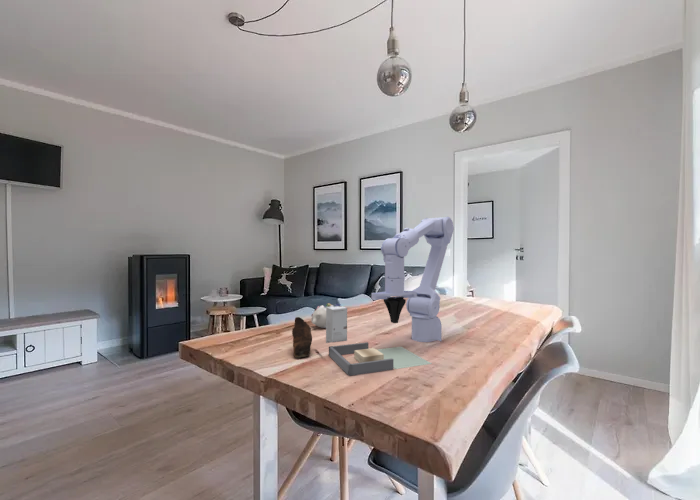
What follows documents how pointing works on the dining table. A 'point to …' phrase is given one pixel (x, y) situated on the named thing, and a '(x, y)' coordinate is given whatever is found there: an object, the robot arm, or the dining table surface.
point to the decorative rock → (301, 338)
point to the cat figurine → (320, 316)
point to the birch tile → (368, 355)
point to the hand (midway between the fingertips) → (394, 322)
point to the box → (357, 368)
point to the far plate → (402, 357)
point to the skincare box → (336, 324)
